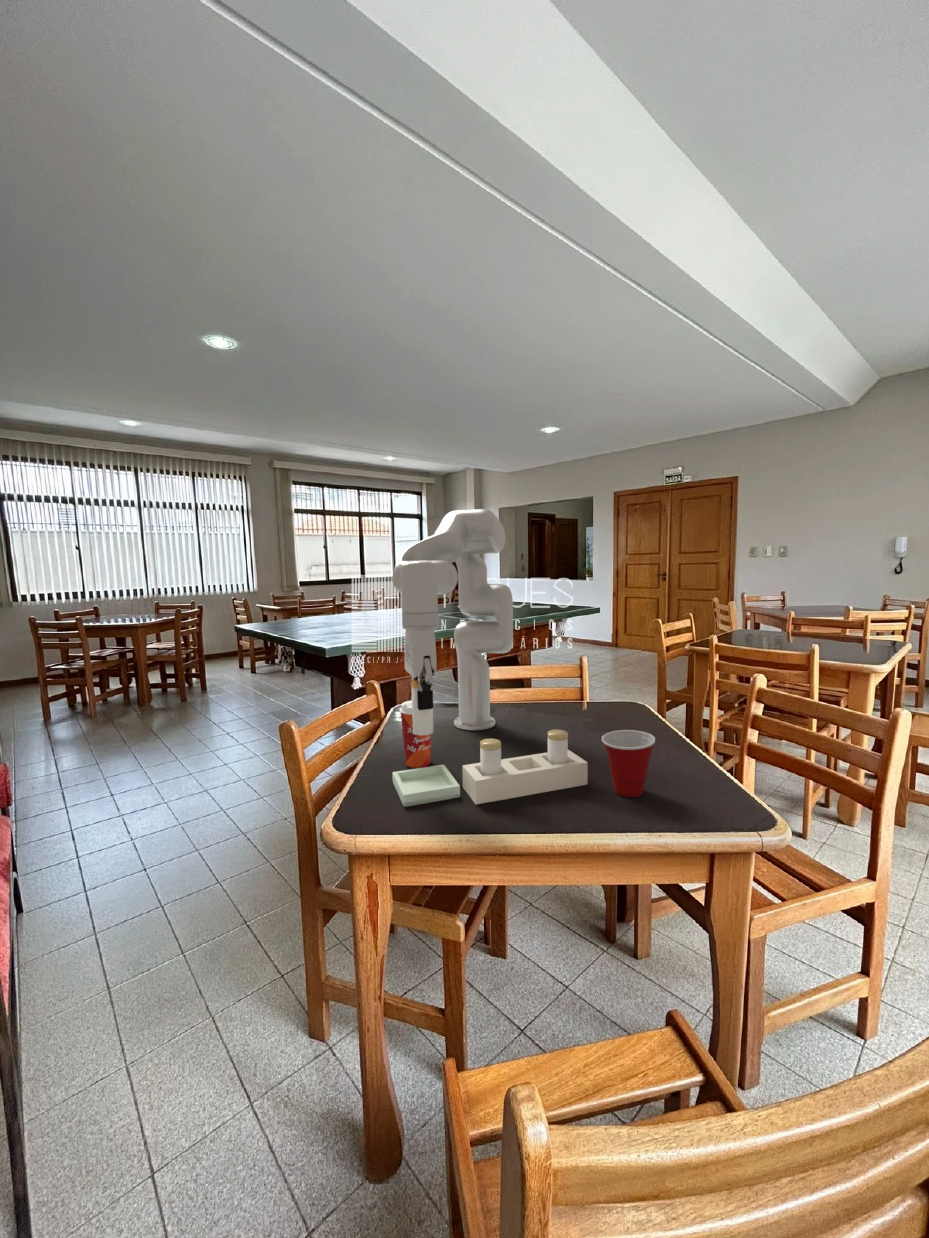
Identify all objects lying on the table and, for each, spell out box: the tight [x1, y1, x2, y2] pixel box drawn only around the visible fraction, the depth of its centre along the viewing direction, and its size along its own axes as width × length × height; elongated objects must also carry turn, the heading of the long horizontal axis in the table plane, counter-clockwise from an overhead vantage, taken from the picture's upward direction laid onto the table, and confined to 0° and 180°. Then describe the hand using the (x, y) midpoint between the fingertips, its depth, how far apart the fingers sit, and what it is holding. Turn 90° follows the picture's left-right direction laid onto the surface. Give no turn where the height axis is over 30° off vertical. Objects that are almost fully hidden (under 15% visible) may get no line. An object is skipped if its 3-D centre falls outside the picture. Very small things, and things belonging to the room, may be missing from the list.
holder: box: [462, 749, 589, 805], centre depth 110 cm, size 8×26×5 cm, turn 109°
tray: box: [391, 764, 461, 808], centre depth 109 cm, size 12×12×2 cm
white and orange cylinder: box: [410, 679, 434, 735], centre depth 107 cm, size 4×4×11 cm
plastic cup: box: [601, 729, 656, 798], centre depth 106 cm, size 11×11×12 cm
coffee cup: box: [399, 699, 432, 769], centre depth 123 cm, size 8×8×15 cm
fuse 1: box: [479, 738, 502, 777], centre depth 107 cm, size 4×4×11 cm
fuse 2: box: [547, 729, 569, 765], centre depth 112 cm, size 4×4×11 cm
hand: (422, 705), depth 107 cm, fingers closed on white and orange cylinder, 4 cm apart
